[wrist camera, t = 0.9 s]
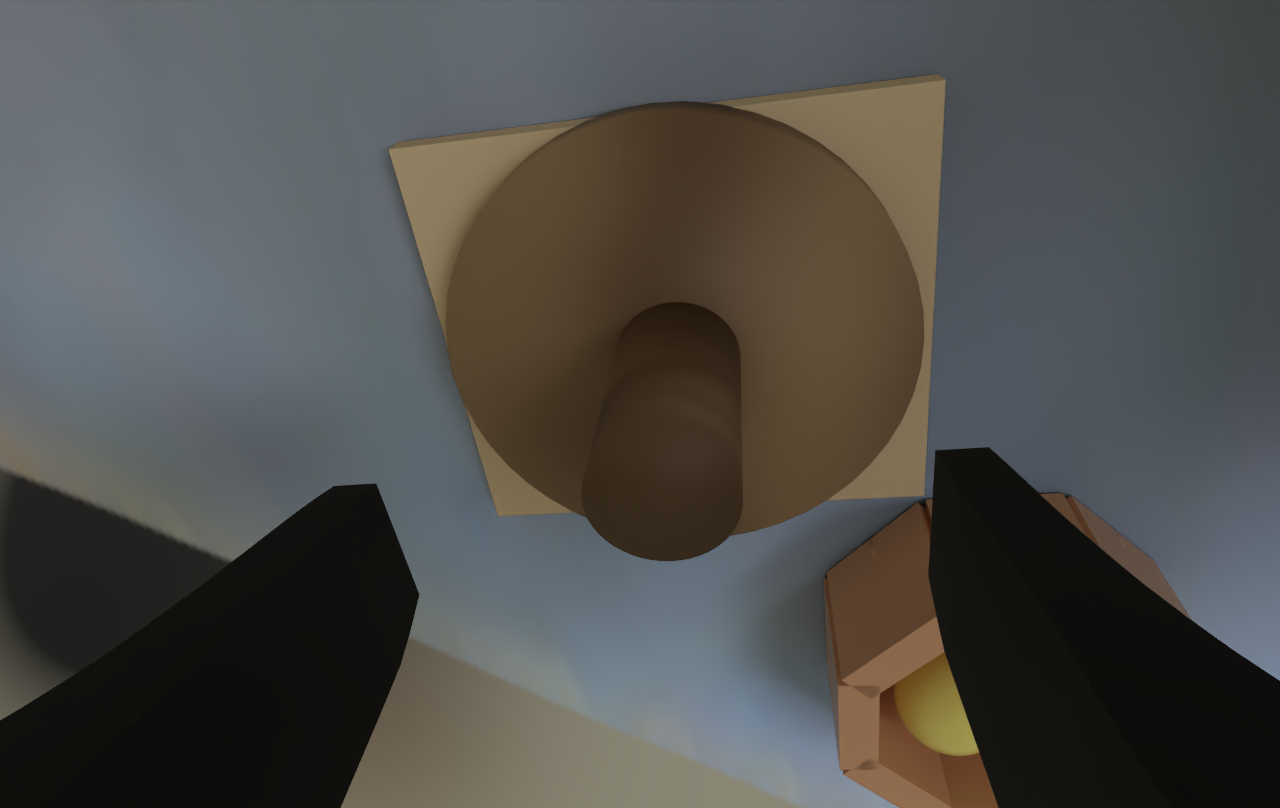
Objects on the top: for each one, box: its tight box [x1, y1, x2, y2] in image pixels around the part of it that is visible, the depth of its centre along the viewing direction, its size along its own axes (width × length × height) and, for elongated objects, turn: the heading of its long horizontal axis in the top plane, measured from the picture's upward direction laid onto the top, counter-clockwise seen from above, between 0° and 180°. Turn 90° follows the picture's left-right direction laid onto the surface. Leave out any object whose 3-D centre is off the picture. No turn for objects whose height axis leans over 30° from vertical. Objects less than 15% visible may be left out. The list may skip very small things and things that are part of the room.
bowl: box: [824, 493, 1191, 808], centre depth 17 cm, size 7×7×3 cm
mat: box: [389, 74, 946, 516], centre depth 15 cm, size 9×8×1 cm
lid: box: [445, 101, 924, 561], centre depth 13 cm, size 8×8×5 cm
